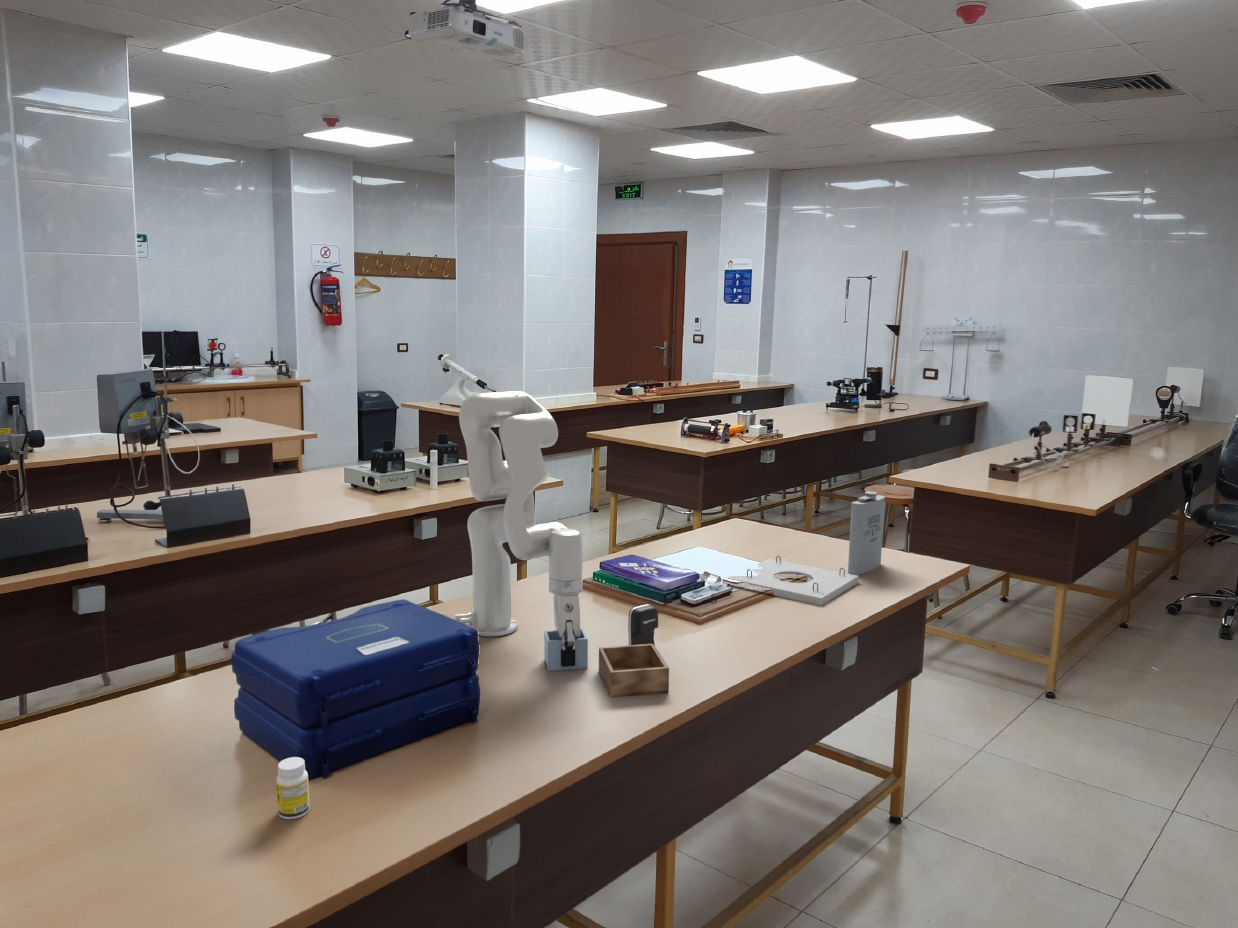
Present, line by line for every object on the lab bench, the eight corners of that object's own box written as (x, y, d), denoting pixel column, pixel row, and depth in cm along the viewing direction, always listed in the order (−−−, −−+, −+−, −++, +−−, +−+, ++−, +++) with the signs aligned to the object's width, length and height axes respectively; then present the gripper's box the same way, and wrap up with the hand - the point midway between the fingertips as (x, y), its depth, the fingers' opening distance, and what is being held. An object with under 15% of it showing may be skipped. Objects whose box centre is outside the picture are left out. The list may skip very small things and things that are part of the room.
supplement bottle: (283, 803, 140) (280, 755, 138) (313, 802, 140) (310, 754, 139) (274, 820, 135) (271, 771, 134) (305, 819, 135) (302, 770, 134)
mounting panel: (821, 589, 238) (727, 570, 256) (821, 607, 239) (726, 586, 257) (859, 568, 259) (769, 551, 277) (858, 584, 260) (768, 566, 278)
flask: (859, 575, 267) (864, 496, 263) (846, 572, 270) (850, 494, 266) (884, 564, 280) (889, 488, 276) (871, 561, 283) (876, 486, 279)
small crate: (547, 671, 193) (547, 641, 192) (544, 659, 199) (544, 630, 198) (587, 668, 195) (587, 638, 194) (582, 657, 201) (583, 628, 200)
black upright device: (637, 659, 200) (637, 612, 198) (627, 654, 203) (627, 607, 201) (660, 652, 204) (661, 606, 202) (649, 647, 207) (650, 602, 205)
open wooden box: (610, 697, 180) (610, 672, 179) (598, 670, 194) (598, 647, 193) (668, 692, 183) (669, 667, 182) (652, 666, 196) (653, 643, 195)
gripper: (588, 595, 186) (588, 673, 189) (576, 572, 203) (576, 644, 206) (554, 597, 185) (554, 676, 188) (544, 573, 201) (544, 646, 204)
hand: (565, 658), depth 197 cm, fingers closed on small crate, 6 cm apart
